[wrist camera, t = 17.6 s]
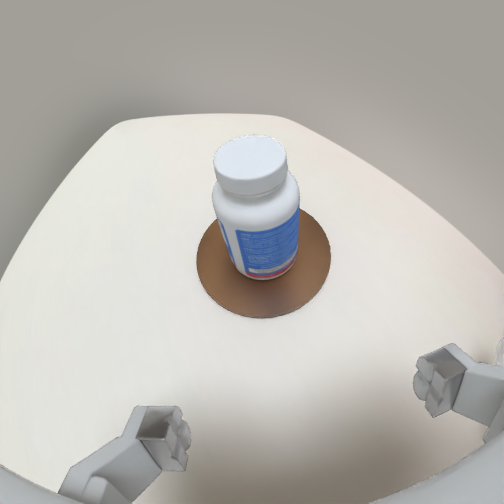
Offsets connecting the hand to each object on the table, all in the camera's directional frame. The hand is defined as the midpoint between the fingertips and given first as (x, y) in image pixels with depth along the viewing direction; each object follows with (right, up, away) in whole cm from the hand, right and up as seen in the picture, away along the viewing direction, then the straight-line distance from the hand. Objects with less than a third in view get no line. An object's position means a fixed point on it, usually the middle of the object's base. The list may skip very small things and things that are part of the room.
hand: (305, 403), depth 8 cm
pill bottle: (-1, +5, +15) cm, 16 cm away
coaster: (-1, +5, +15) cm, 16 cm away
